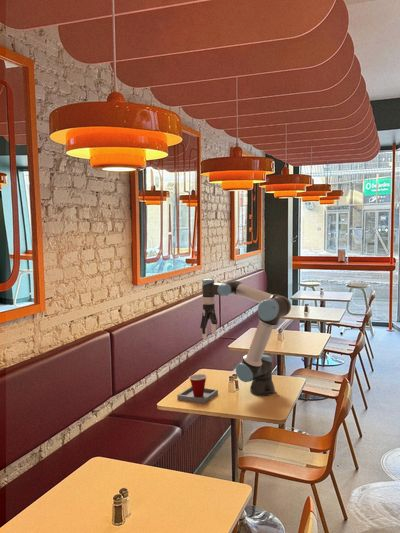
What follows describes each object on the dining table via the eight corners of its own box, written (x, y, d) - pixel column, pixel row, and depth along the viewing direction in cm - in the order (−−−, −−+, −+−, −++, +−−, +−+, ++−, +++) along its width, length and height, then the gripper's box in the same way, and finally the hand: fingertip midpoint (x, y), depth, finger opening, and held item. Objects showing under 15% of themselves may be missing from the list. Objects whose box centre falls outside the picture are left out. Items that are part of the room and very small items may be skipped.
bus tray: (217, 394, 301) (217, 389, 301) (204, 404, 285) (204, 399, 285) (191, 390, 309) (191, 385, 309) (177, 399, 293) (177, 394, 293)
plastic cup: (191, 392, 304) (191, 372, 303) (208, 393, 301) (208, 373, 300) (187, 398, 293) (186, 378, 292) (205, 399, 291) (204, 379, 290)
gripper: (211, 300, 324) (212, 331, 326) (194, 306, 302) (195, 340, 304) (222, 300, 321) (222, 332, 323) (205, 306, 299) (206, 341, 300)
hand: (209, 336), depth 313 cm, fingers open, 13 cm apart
